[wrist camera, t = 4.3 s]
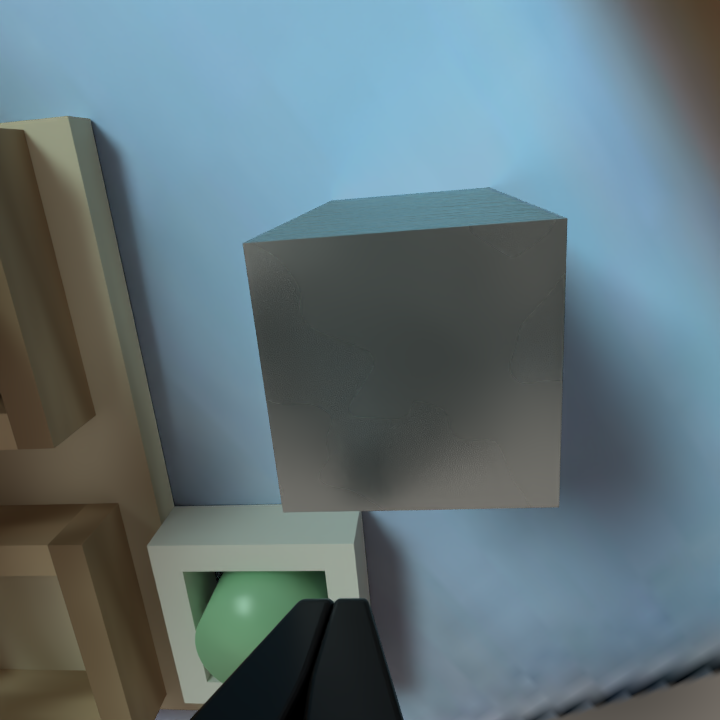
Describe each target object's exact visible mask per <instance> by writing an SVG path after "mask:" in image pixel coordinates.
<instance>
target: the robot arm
mask: <svg viewBox="0 0 720 720" xmlns="http://www.w3.org/2000/svg"><path fill="white" fill-rule="evenodd" d="M190 720H404V719H403V716H402V712H401V709H400V706H399V702H398V699H397V695H396V692H395V689H394V685H393V682H392V679H391V675H390V672H389V668H388V665H387V662H386V658H385V655H384V651H383V648H382V645H381V641H380V638H379V634H378V631H377V628H376V624H375V621H374V617H373V614H372V611H371V607H370V604H369V602H368V600H367V599H365V598H340V599H337V600H336V601H335V602H334V601H332V600H331V599H328V598H324V599H302V600H300V601H299V602H298V603H297V604H296V605H295V606H294V607H293V608H292V609H291V610H290V611H289V612H288V613H287V614H286V615H285V617H284V618H283V619H282V620H281V621H280V622H279V623H278V624H277V625H276V626H275V627H274V629H273V630H272V631H271V632H270V633H269V634H268V635H267V636H266V637H265V638H264V639H263V640H262V642H261V643H260V644H259V645H258V646H257V647H256V648H255V649H254V650H253V651H252V652H251V654H250V655H249V656H248V657H247V658H246V659H245V660H244V661H243V662H242V663H241V664H240V665H239V667H238V668H237V669H236V670H235V671H234V672H233V673H232V674H231V675H230V676H229V677H228V679H227V680H226V681H225V682H224V683H223V684H222V685H221V686H220V687H219V688H218V689H217V691H216V692H215V693H214V694H213V695H212V696H211V697H210V698H209V699H208V700H207V701H206V702H205V704H204V705H203V706H202V707H201V708H200V709H199V710H198V711H197V712H196V713H195V714H194V716H193V717H192V718H191V719H190Z"/></svg>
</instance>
